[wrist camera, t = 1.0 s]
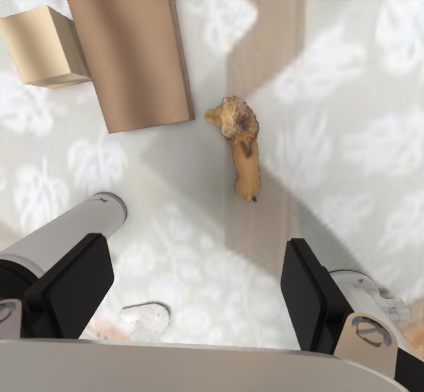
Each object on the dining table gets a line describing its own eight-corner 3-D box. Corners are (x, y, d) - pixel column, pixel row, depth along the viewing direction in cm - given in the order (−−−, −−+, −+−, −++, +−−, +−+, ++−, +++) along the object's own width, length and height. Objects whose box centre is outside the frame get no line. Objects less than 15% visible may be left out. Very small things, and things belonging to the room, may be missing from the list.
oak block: (79, 25, 26) (47, 5, 21) (96, 79, 28) (70, 72, 23) (35, 36, 27) (-5, 19, 22) (55, 88, 29) (22, 83, 24)
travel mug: (107, 182, 33) (-48, 270, 14) (135, 215, 35) (29, 331, 16) (80, 202, 35) (-92, 306, 16) (108, 233, 36) (-18, 358, 18)
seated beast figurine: (120, 308, 42) (82, 378, 31) (149, 288, 40) (119, 355, 29) (154, 336, 45) (130, 410, 33) (184, 317, 42) (169, 391, 31)
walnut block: (169, -32, 24) (155, -67, 19) (195, 119, 29) (189, 120, 25) (87, -11, 25) (55, -39, 20) (126, 130, 30) (108, 133, 26)
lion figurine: (205, 108, 28) (197, 105, 20) (244, 93, 28) (252, 83, 19) (239, 205, 33) (244, 235, 25) (273, 194, 32) (290, 222, 24)
